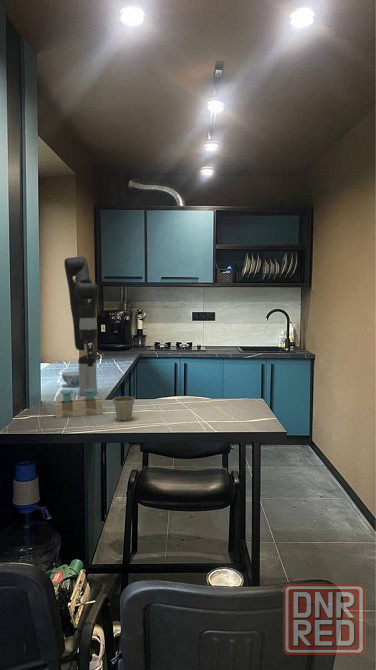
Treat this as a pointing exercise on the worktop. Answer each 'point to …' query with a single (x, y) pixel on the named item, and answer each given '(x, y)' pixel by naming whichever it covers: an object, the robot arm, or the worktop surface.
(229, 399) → the worktop surface
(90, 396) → the teal peg
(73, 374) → the chinaware
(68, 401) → the teal peg
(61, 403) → the oak block
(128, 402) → the flower pot
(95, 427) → the worktop surface
